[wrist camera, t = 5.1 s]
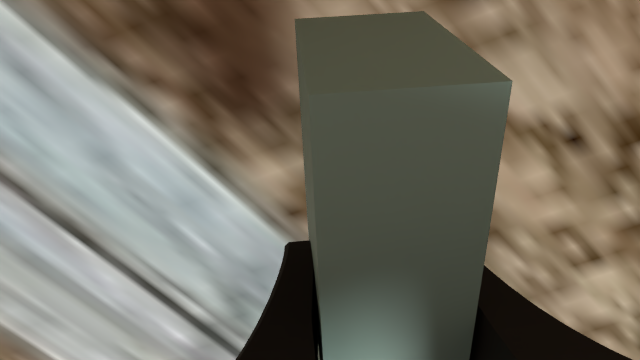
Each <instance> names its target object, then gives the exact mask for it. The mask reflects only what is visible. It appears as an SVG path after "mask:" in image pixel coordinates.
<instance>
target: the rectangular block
mask: <svg viewBox="0 0 640 360" xmlns="http://www.w3.org/2000/svg"><path fill="white" fill-rule="evenodd" d="M295 30H296V46H297V61H298V77H299V92H300V108H301V123H302V139H303V155H304V170H305V186H306V201H307V217H308V232H309V241H310V242H311V249H312V257H313V266H314V283H315V300H316V316H317V333H318V360H469V358H470V352H471V345H472V339H473V332H474V326H475V319H476V313H477V306H478V300H479V294H480V287H481V281H482V274H483V268H484V261H485V255H486V248H487V242H488V235H489V229H490V223H491V216H492V210H493V203H494V197H495V190H496V184H497V177H498V171H499V164H500V158H501V152H502V145H503V139H504V132H505V126H506V119H507V113H508V106H509V100H510V93H511V87H512V80H510V79H509V78H508V77H507V76H505V75H504V74H503V73H502V72H500V71H499V70H498V69H496V68H495V67H494V66H493V65H491V64H490V63H489V62H488V61H486V60H485V59H484V58H482V57H481V56H480V55H479V54H477V53H476V52H475V51H473V50H472V49H471V48H470V47H468V46H467V45H466V44H465V43H463V42H462V41H461V40H459V39H458V38H457V37H456V36H454V35H453V34H452V33H451V32H449V31H448V30H447V29H445V28H444V27H443V26H442V25H440V24H439V23H438V22H437V21H435V20H434V19H433V18H431V17H430V16H429V15H428V14H426V13H425V12H424V11H421V12H404V13H387V14H371V15H354V16H338V17H321V18H305V19H295Z"/></svg>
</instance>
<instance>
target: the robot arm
mask: <svg viewBox="0 0 640 360" xmlns="http://www.w3.org/2000/svg"><path fill="white" fill-rule="evenodd" d="M236 360H318V333H317V316H316V300H315V283H314V266H313V257H312V249H311V242H310V241H298V242H289V243H288V244H287V245H286V246H285V251H284V256H283V261H282V264H281V268H280V271H279V274H278V277H277V280H276V282H275V285H274V288H273V290H272V293H271V295H270V298H269V300H268V302H267V304H266V306H265V309H264V311H263V313H262V315H261V317H260V319H259V321H258V323H257V325H256V327H255V329H254V331H253V332H252V334H251V336H250V338H249V339H248V341H247V343H246V344H245V346H244V348H243V349H242V351H241V352H240V354H239V355H238V357H237V358H236ZM469 360H632V359H630V358H628V357H625V356H623V355H621V354H619V353H617V352H615V351H613V350H611V349H609V348H607V347H605V346H603V345H601V344H599V343H597V342H595V341H593V340H592V339H590V338H588V337H586V336H584V335H583V334H581V333H579V332H577V331H575V330H573V329H572V328H570V327H568V326H567V325H565V324H563V323H562V322H560V321H558V320H557V319H555V318H554V317H552V316H551V315H549V314H548V313H546V312H545V311H543V310H542V309H540V308H538V307H537V306H536V305H534V304H533V303H531V302H530V301H528V300H527V299H526V298H524V297H523V296H522V295H520V294H519V293H518V292H516V291H515V290H514V289H512V288H511V287H510V286H508V285H507V284H506V283H505V282H503V281H502V280H501V279H500V278H499V277H497V276H496V275H495V274H494V273H493V272H491V271H490V270H489V269H488V268H487V267H486V266H484V268H483V274H482V281H481V287H480V294H479V300H478V306H477V313H476V319H475V326H474V332H473V339H472V345H471V352H470V358H469Z"/></svg>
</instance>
